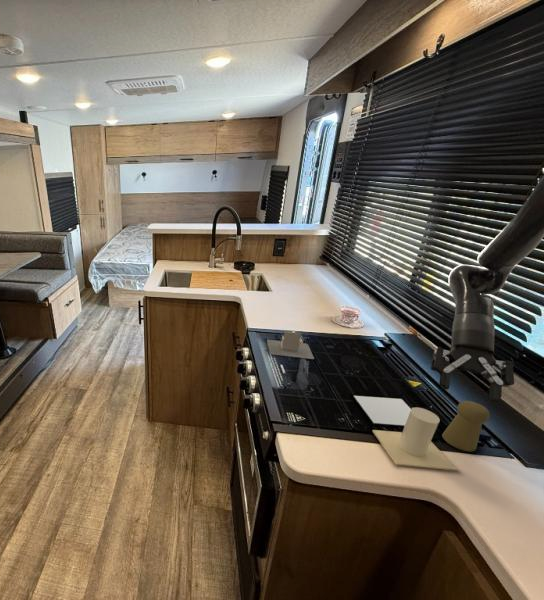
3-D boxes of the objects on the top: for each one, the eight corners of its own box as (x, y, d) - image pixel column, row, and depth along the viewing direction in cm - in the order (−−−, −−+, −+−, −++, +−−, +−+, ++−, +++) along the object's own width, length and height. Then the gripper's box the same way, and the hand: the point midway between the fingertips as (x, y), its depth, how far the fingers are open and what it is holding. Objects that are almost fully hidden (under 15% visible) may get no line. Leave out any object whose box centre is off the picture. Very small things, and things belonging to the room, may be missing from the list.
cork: (453, 450, 73) (471, 413, 69) (436, 430, 78) (451, 395, 74) (483, 453, 72) (502, 416, 68) (463, 433, 77) (480, 398, 73)
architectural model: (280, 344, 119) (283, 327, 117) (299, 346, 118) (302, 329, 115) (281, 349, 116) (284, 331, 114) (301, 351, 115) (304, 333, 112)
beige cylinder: (416, 440, 75) (429, 408, 71) (430, 457, 70) (445, 424, 67) (393, 438, 76) (405, 406, 72) (406, 455, 71) (420, 422, 67)
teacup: (326, 317, 141) (328, 305, 139) (350, 315, 142) (353, 303, 140) (344, 329, 130) (348, 316, 128) (370, 327, 131) (374, 314, 129)
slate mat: (401, 400, 89) (401, 398, 89) (428, 428, 79) (428, 427, 79) (352, 396, 91) (353, 395, 91) (373, 424, 81) (373, 423, 81)
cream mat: (424, 435, 77) (424, 434, 77) (455, 470, 68) (456, 469, 68) (372, 431, 79) (372, 429, 78) (396, 464, 69) (396, 463, 69)
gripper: (441, 322, 80) (436, 382, 75) (521, 335, 73) (520, 402, 68) (431, 332, 86) (425, 388, 82) (503, 345, 79) (501, 407, 74)
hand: (469, 394), depth 75 cm, fingers open, 8 cm apart
